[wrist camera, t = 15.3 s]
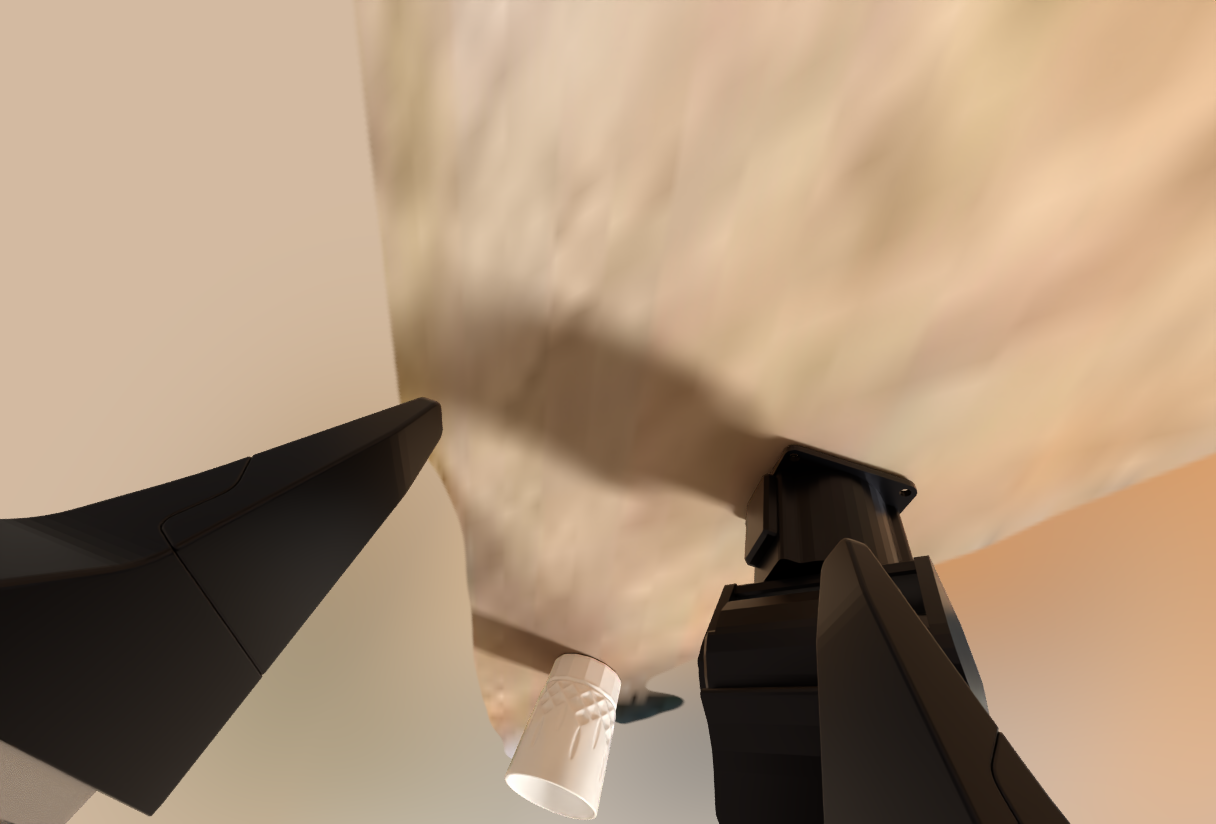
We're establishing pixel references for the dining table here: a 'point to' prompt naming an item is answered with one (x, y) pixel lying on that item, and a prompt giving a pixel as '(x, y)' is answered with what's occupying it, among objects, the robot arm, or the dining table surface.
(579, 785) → the white cup
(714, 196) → the dining table surface
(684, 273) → the dining table surface
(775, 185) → the dining table surface
